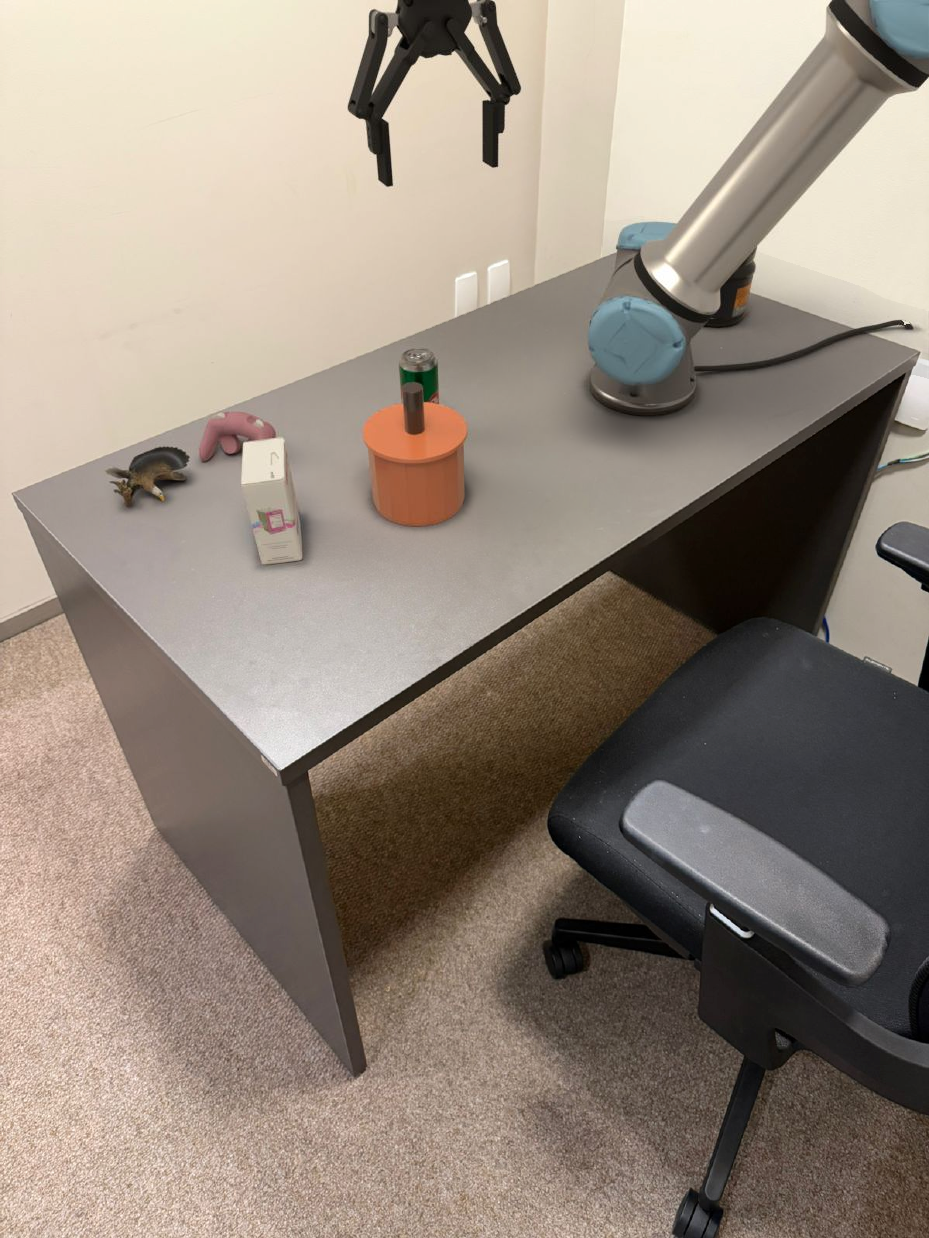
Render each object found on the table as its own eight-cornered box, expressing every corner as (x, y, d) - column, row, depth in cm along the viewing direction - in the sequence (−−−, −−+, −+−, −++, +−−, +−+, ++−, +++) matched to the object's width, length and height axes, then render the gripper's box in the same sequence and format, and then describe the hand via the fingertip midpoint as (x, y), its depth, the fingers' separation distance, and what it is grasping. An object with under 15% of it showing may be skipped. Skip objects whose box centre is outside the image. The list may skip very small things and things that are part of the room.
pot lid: (441, 401, 108) (439, 352, 104) (485, 451, 100) (485, 400, 96) (348, 425, 105) (342, 375, 100) (386, 478, 97) (381, 427, 92)
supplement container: (755, 313, 144) (773, 240, 136) (724, 335, 139) (740, 261, 130) (700, 295, 149) (713, 224, 141) (668, 316, 144) (679, 243, 135)
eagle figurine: (151, 516, 105) (203, 470, 109) (109, 470, 102) (164, 424, 106) (132, 520, 111) (182, 477, 115) (92, 477, 108) (145, 433, 112)
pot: (441, 463, 114) (439, 400, 108) (479, 510, 107) (479, 445, 100) (361, 486, 111) (353, 422, 104) (394, 536, 103) (388, 471, 97)
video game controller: (278, 470, 116) (281, 417, 114) (260, 474, 112) (264, 420, 110) (214, 457, 119) (216, 405, 116) (195, 461, 114) (196, 407, 112)
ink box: (260, 521, 106) (241, 438, 98) (301, 516, 106) (286, 434, 98) (259, 566, 100) (239, 482, 92) (303, 561, 100) (287, 477, 92)
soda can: (435, 447, 117) (432, 366, 108) (399, 443, 118) (393, 363, 109) (443, 427, 120) (441, 347, 112) (408, 424, 121) (403, 344, 113)
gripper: (326, -37, 80) (351, 201, 95) (557, -59, 88) (546, 165, 103) (300, -47, 85) (328, 181, 100) (522, -67, 93) (516, 148, 108)
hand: (439, 174), depth 102 cm, fingers open, 13 cm apart
